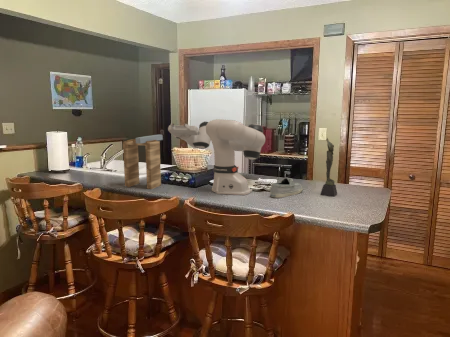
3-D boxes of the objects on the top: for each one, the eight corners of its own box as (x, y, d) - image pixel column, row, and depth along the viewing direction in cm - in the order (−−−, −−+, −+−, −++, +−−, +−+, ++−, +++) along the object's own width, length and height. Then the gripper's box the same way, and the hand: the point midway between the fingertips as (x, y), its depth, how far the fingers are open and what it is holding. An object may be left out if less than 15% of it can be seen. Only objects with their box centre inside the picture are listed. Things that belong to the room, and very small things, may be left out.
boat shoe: (306, 191, 199) (306, 175, 198) (283, 200, 180) (283, 183, 179) (291, 188, 205) (291, 173, 204) (267, 197, 186) (267, 180, 185)
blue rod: (162, 139, 217) (162, 134, 216) (140, 143, 196) (140, 138, 195) (158, 139, 218) (158, 134, 217) (135, 143, 197) (135, 137, 196)
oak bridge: (160, 185, 212) (159, 139, 207) (151, 189, 203) (149, 141, 198) (135, 183, 218) (133, 138, 213) (125, 186, 209) (122, 140, 204)
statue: (334, 196, 187) (337, 139, 181) (320, 195, 190) (322, 138, 185) (337, 193, 193) (340, 138, 188) (323, 192, 196) (326, 137, 191)
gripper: (200, 138, 236) (191, 129, 224) (172, 137, 243) (163, 128, 231) (202, 130, 238) (194, 120, 225) (175, 129, 245) (165, 119, 233)
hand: (178, 124), depth 228 cm, fingers open, 8 cm apart
